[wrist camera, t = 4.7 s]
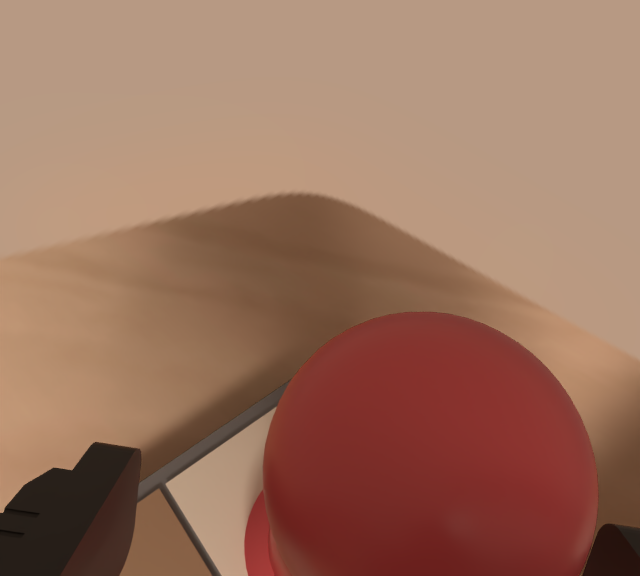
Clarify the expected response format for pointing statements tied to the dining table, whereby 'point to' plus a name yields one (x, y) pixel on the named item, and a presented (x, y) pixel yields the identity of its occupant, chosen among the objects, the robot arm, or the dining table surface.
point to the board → (203, 501)
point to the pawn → (424, 459)
